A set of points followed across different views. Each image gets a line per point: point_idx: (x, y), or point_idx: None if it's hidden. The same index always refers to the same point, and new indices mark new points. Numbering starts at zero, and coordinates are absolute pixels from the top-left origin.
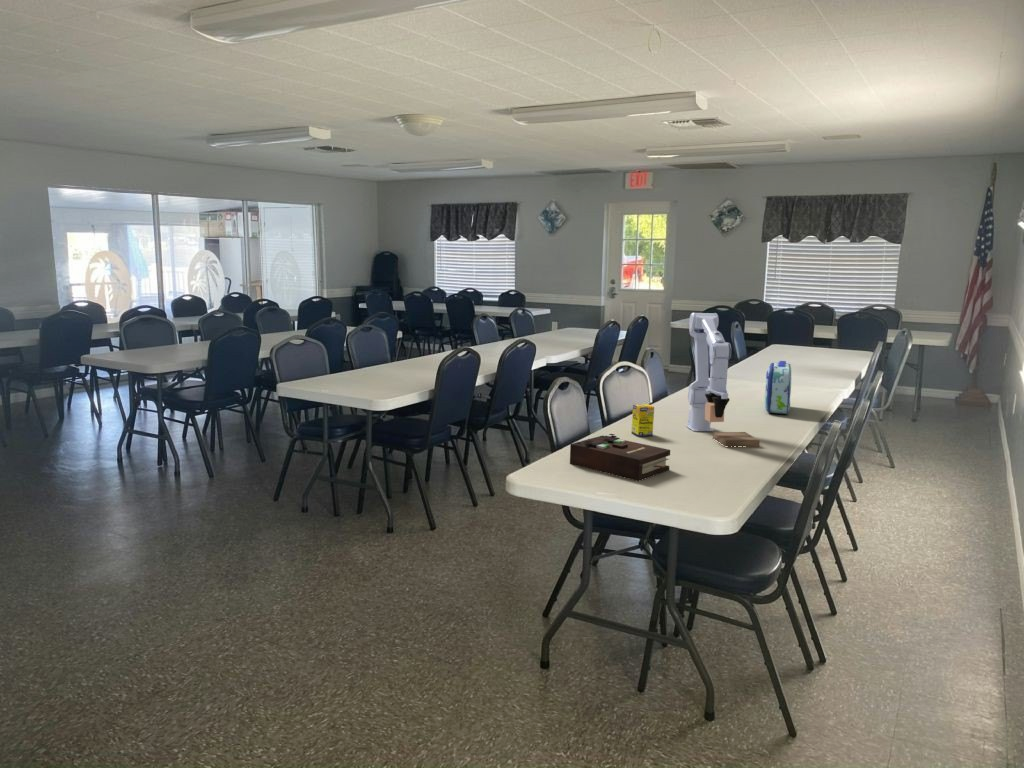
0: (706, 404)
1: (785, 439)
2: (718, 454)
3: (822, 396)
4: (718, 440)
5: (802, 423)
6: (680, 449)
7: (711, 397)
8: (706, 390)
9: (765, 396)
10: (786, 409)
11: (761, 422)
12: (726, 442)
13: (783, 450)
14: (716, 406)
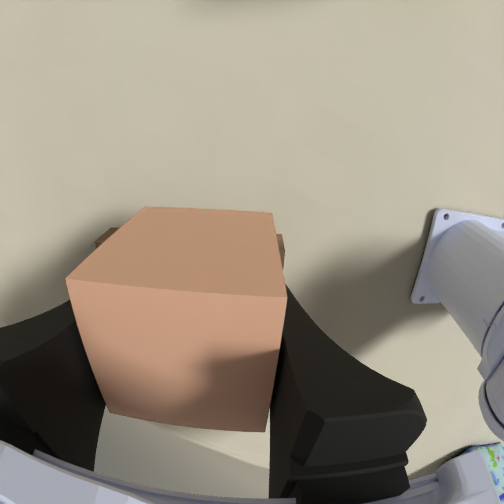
0: (234, 282)
1: (246, 442)
2: (14, 153)
3: None
4: None
5: None
6: (86, 4)
7: (284, 430)
8: (33, 492)
9: (488, 466)
10: None
11: (430, 435)
12: (101, 239)
13: None
14: (37, 319)
